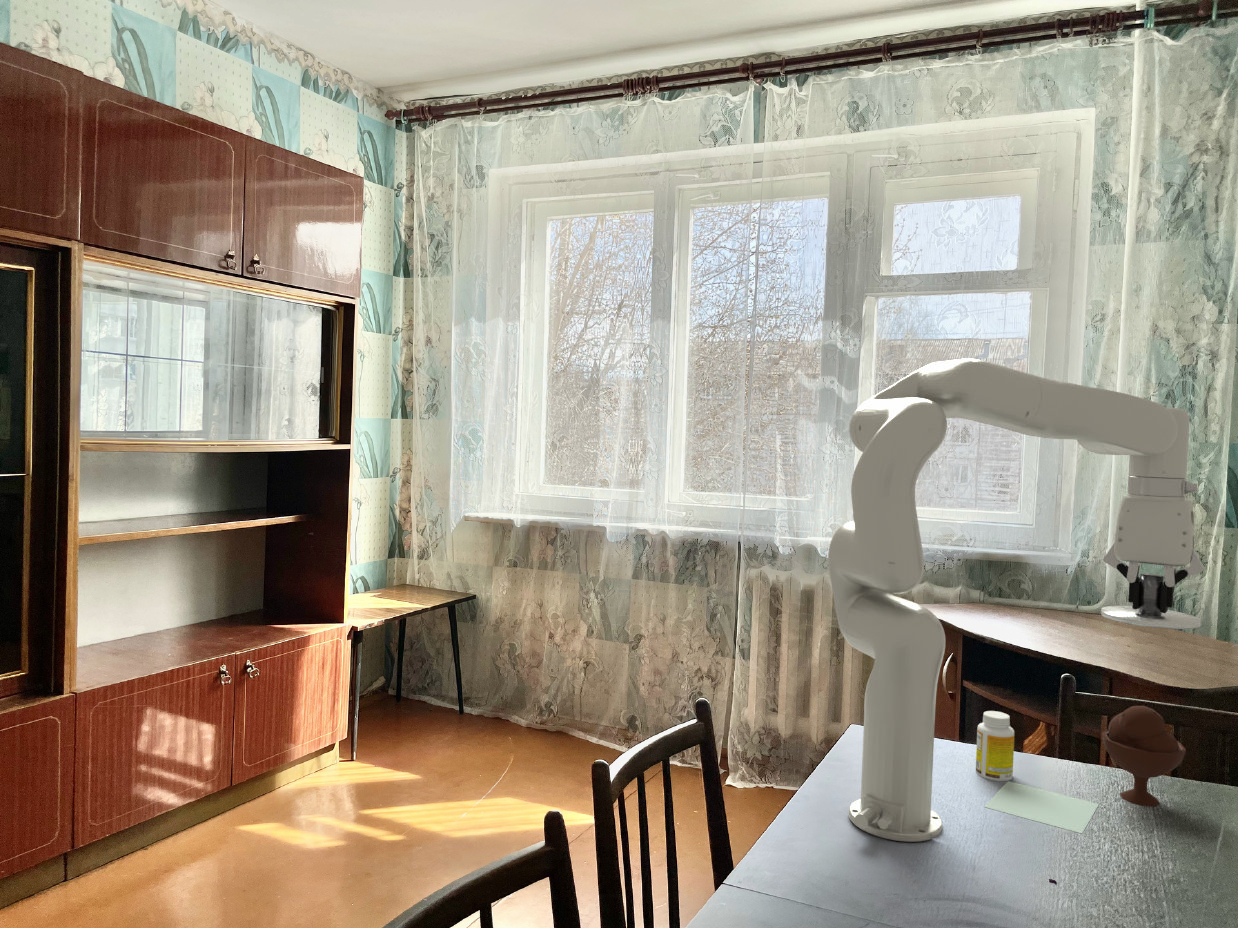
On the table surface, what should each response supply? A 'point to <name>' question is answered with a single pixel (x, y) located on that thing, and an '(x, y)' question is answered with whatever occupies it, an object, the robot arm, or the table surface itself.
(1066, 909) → the table surface
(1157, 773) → the ice cream bowl
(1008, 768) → the supplement bottle
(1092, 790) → the table surface
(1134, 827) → the table surface
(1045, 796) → the mat
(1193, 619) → the lid
